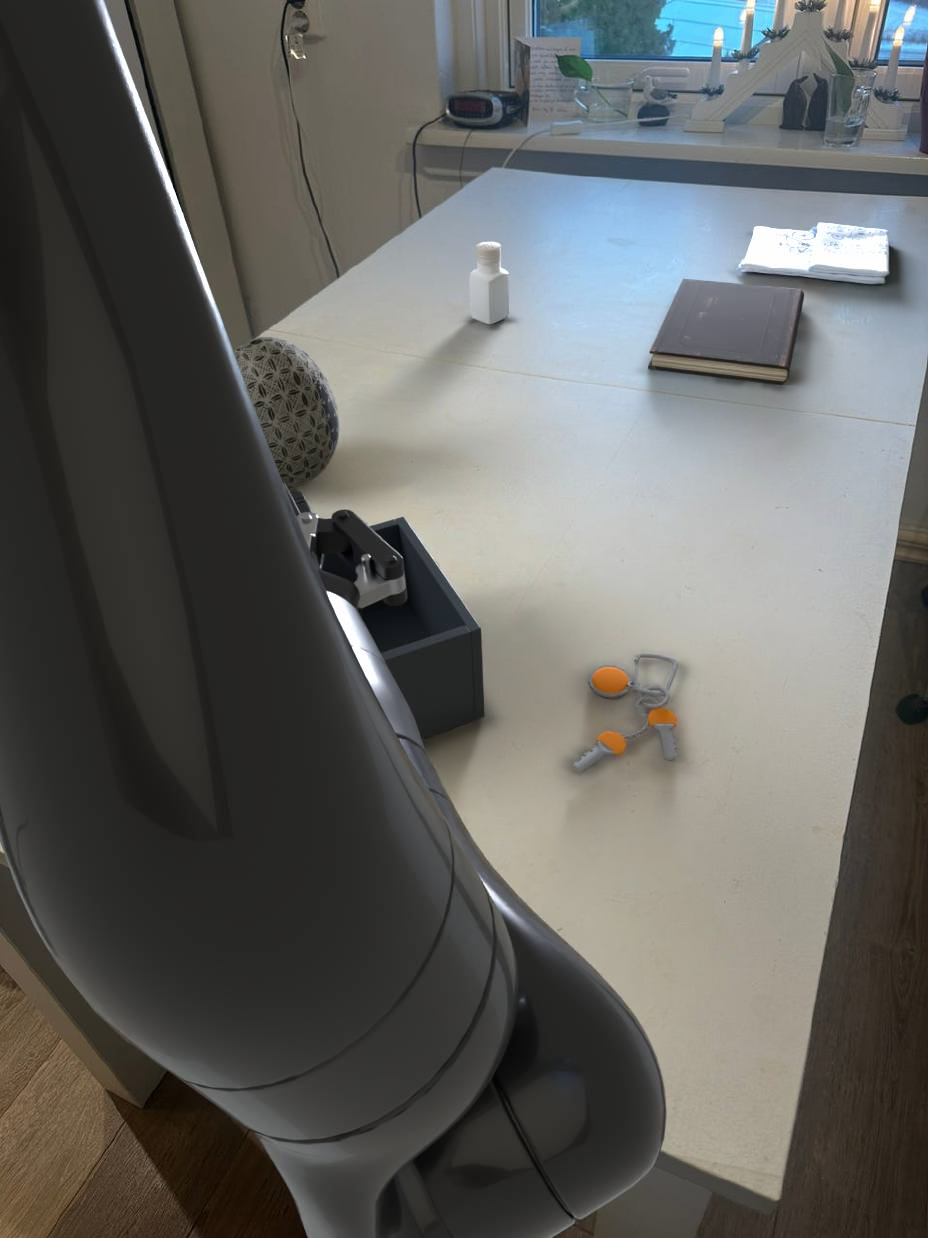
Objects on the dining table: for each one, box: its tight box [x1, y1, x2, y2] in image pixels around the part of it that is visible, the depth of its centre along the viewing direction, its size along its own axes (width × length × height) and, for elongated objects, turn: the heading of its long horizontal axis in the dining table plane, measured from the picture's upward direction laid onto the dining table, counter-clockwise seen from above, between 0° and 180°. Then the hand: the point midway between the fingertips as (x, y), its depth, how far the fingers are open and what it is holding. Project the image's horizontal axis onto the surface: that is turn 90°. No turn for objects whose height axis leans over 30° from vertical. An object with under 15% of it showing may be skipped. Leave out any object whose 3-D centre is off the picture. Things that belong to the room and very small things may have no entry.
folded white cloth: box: [736, 221, 890, 285], centre depth 128 cm, size 19×20×2 cm
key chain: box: [572, 652, 679, 774], centre depth 64 cm, size 13×7×1 cm, turn 164°
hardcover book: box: [647, 278, 805, 386], centre depth 110 cm, size 16×23×2 cm
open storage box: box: [322, 516, 486, 740], centre depth 65 cm, size 15×15×9 cm
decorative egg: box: [233, 336, 340, 488], centre depth 85 cm, size 12×12×15 cm
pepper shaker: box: [468, 241, 510, 325], centre depth 114 cm, size 4×4×10 cm
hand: (227, 512), depth 48 cm, fingers closed on energy drink, 5 cm apart
